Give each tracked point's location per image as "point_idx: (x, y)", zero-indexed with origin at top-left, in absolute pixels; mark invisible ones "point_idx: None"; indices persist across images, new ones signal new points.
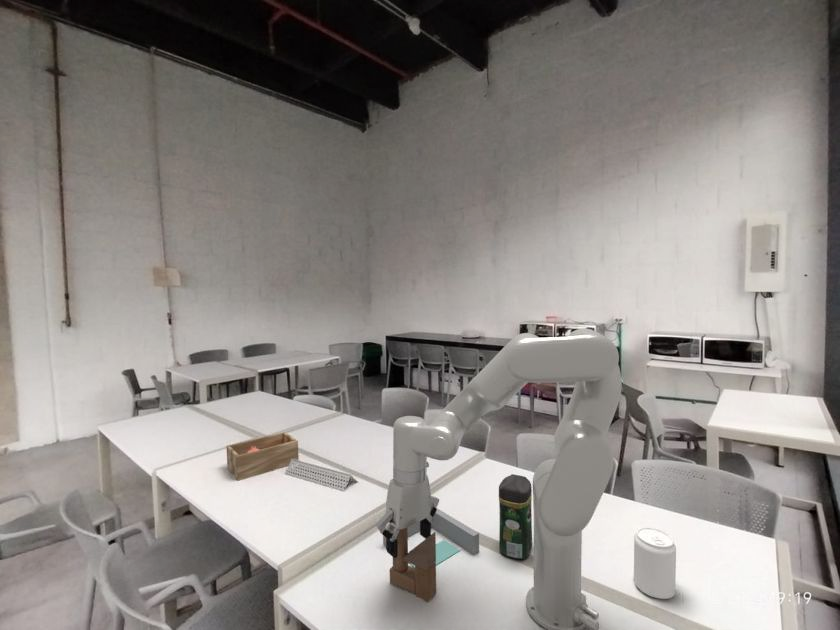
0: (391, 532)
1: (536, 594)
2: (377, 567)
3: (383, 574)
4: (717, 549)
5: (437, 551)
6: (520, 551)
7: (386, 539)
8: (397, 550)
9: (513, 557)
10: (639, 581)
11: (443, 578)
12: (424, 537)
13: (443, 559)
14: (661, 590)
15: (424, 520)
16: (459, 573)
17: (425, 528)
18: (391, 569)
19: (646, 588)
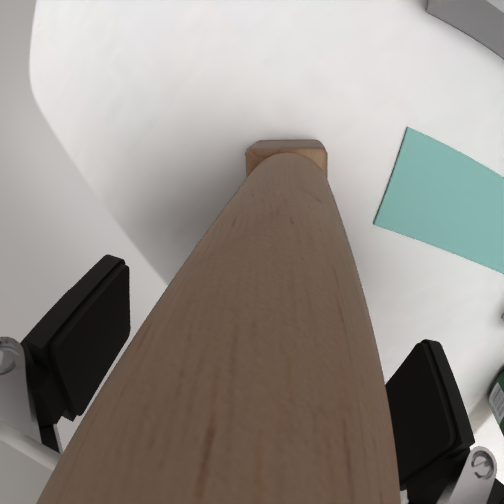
0: (476, 8)
1: None
2: (304, 35)
3: (286, 83)
4: (500, 479)
5: (496, 215)
6: (493, 412)
7: (24, 340)
8: (112, 362)
9: (491, 391)
10: None
11: (386, 295)
12: (395, 374)
13: (467, 255)
14: None
15: (427, 474)
16: (423, 322)
17: (401, 438)
18: (250, 160)
19: None
